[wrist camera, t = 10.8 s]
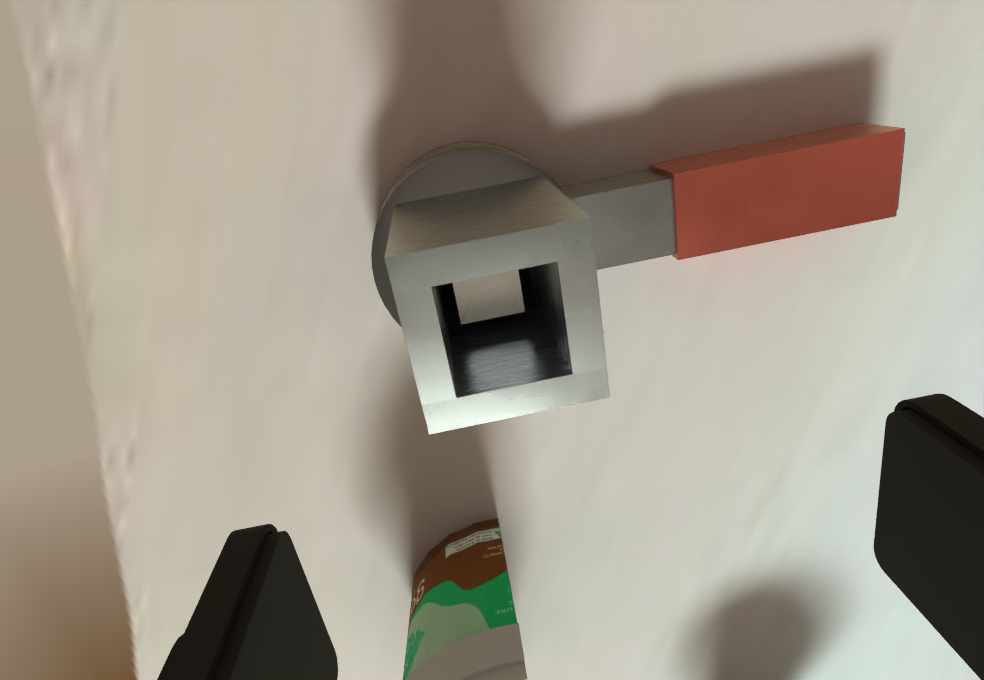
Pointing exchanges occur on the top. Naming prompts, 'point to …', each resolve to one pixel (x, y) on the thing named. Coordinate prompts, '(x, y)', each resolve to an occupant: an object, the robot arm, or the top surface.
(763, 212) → the ratchet
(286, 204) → the top surface
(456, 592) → the food container
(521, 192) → the square aluminium tube
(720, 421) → the top surface
